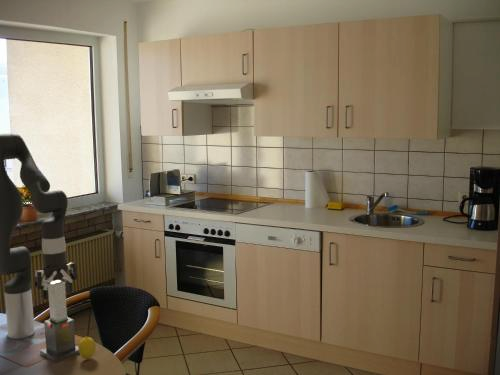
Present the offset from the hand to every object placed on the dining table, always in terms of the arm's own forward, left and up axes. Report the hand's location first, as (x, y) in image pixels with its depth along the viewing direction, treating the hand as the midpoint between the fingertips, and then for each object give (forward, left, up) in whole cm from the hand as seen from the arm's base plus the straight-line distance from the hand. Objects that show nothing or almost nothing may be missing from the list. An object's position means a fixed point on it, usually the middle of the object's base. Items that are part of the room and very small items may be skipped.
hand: (57, 296), depth 184 cm
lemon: (+11, +3, -21) cm, 24 cm away
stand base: (0, 0, -21) cm, 21 cm away
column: (0, 0, -14) cm, 14 cm away
